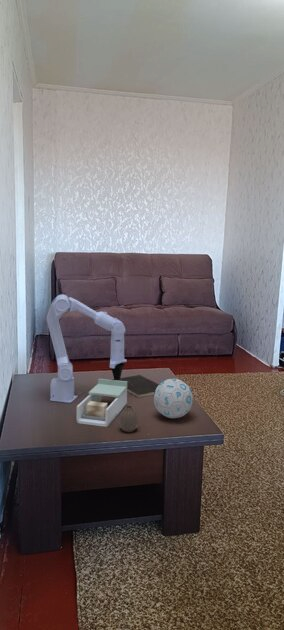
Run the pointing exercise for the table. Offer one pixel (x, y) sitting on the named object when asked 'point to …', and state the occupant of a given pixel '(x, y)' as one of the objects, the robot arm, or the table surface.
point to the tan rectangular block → (96, 409)
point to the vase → (128, 419)
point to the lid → (109, 388)
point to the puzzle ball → (173, 398)
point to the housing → (109, 413)
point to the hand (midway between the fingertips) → (117, 380)
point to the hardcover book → (140, 385)
